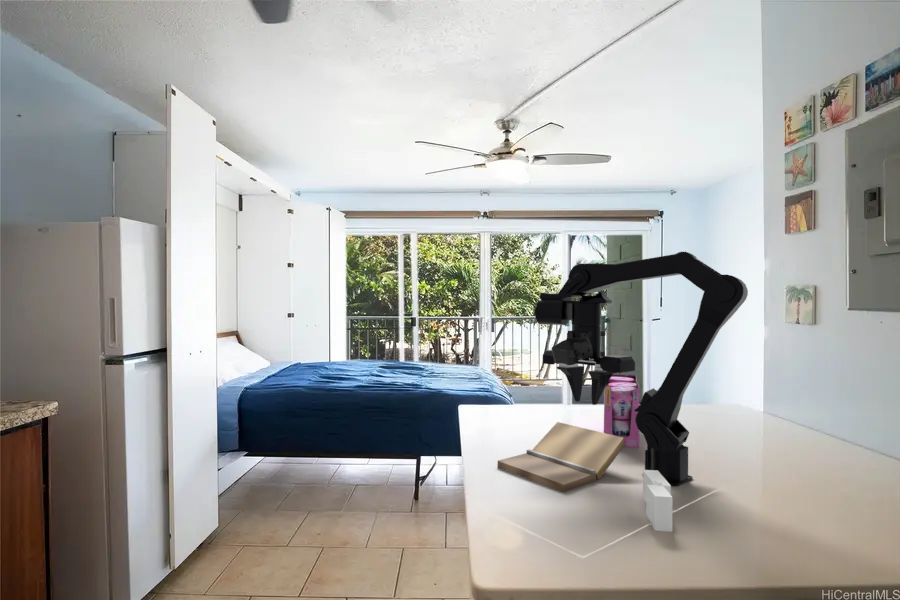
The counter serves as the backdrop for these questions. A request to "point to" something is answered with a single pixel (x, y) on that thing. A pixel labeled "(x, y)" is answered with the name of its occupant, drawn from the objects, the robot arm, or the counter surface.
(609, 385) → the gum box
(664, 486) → the napkin holder
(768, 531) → the counter surface
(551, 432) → the oak plank
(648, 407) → the robot arm
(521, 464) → the walnut board
